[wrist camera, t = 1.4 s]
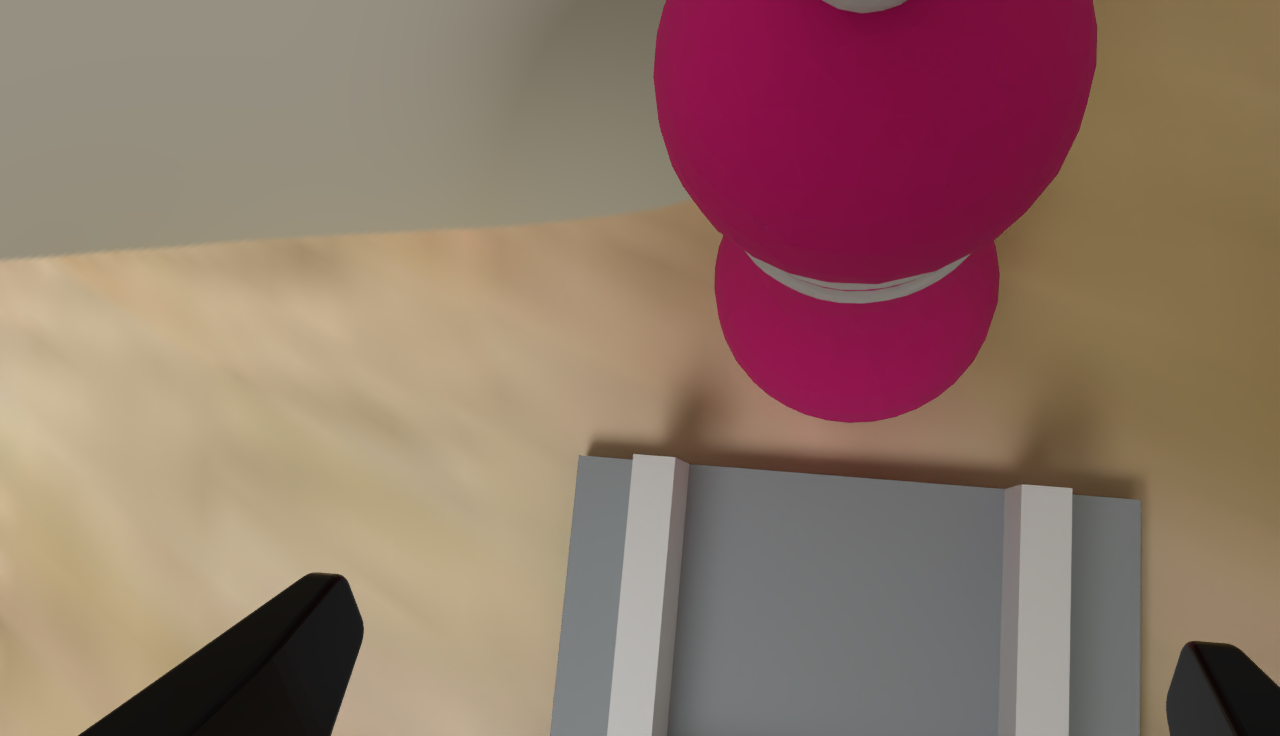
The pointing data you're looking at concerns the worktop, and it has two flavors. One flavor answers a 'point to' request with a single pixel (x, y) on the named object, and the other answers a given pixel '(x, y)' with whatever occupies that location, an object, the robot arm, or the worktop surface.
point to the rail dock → (844, 606)
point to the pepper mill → (866, 176)
